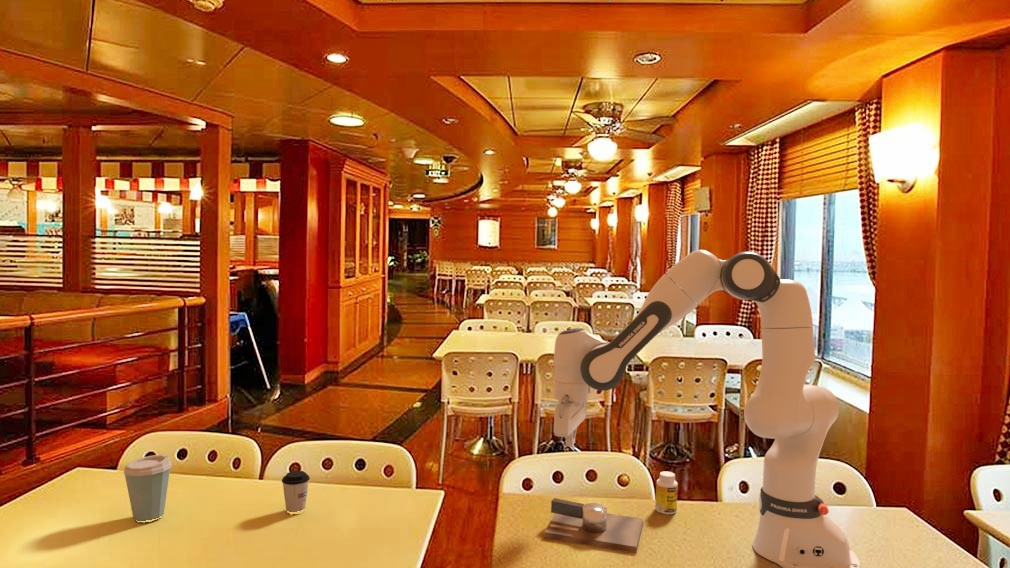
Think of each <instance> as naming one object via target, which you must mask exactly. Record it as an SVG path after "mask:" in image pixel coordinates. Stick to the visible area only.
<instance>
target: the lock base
mask: <svg viewBox="0 0 1010 568" xmlns="http://www.w3.org/2000/svg"><path fill="white" fill-rule="evenodd" d="M643 526H644V518H642V517H635V516H627V515H622V514H615V513H614V514H613V513H608V512H607V528H606V530H604V531H602V532H591V531H587V530H585V529H584V528H583V527H582V519H580V518H575V517H570V516H565V515H561V514H556V513H553V516H552V517H551V520H550V521H549V523H548V525H547V527H546V529H545V530H544V532H543V534H544V535H543V538H544V539H548V540H554V541H560V542H566V543H572V544H573V543H574V544H578V545H584V546H585V545H586V546H590V547H596V548H603V549H609V550H614V551H615V550H616V551H621V552H627V553H633V554H637V552H638V549H639V548H638V547H639V544H640V540H641V536H642V532H643Z"/></svg>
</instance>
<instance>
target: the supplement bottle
mask: <svg viewBox="0 0 1010 568" xmlns="http://www.w3.org/2000/svg"><path fill="white" fill-rule="evenodd" d="M655 484H656V486H655V510H656V511H657V512H658V513H659V514H663V515H673V514H676V512H677V509H678V508H677V506H678V505H677V504H678V489H679V487H678V485H679V483H678V482H677V480H676V474H675V473H674V472H672V471H660V472H659V478H658V479H657V480H656V483H655Z"/></svg>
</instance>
